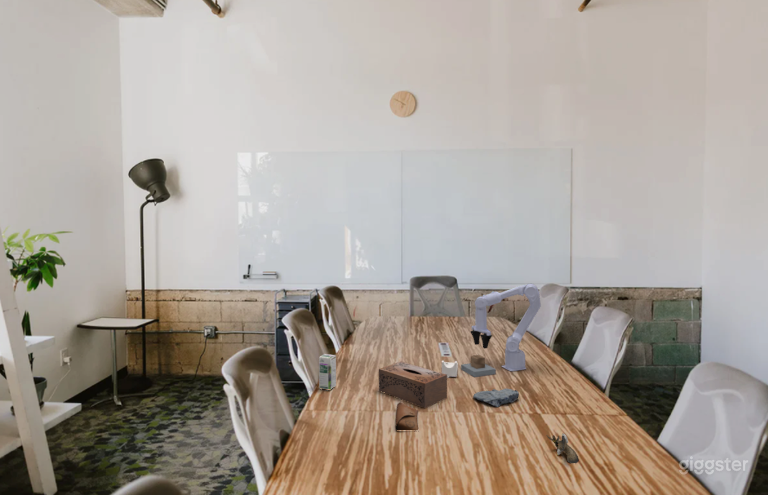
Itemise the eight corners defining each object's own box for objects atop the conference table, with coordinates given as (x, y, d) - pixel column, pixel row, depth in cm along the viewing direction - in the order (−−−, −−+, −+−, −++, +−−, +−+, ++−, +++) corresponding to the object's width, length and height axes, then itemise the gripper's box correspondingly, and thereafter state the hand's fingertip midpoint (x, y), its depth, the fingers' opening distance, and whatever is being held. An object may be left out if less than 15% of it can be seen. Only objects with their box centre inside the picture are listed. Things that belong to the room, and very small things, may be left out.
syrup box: (318, 389, 181) (318, 356, 181) (325, 384, 187) (324, 353, 186) (330, 391, 179) (330, 358, 179) (336, 386, 185) (336, 354, 185)
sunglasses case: (420, 431, 142) (410, 415, 142) (402, 441, 143) (392, 425, 143) (418, 409, 160) (409, 394, 160) (402, 418, 161) (393, 403, 161)
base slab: (481, 366, 211) (481, 361, 211) (495, 374, 200) (495, 368, 200) (461, 369, 207) (461, 364, 207) (474, 377, 196) (474, 372, 196)
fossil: (469, 398, 172) (469, 389, 172) (503, 391, 179) (503, 382, 179) (488, 410, 160) (488, 400, 160) (524, 402, 167) (524, 392, 167)
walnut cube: (479, 364, 207) (479, 354, 207) (485, 367, 202) (485, 357, 202) (470, 365, 205) (470, 355, 205) (476, 368, 200) (476, 358, 200)
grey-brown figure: (541, 446, 130) (559, 456, 121) (549, 425, 132) (568, 433, 123) (560, 458, 131) (579, 468, 122) (568, 437, 132) (588, 445, 124)
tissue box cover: (447, 398, 172) (447, 374, 172) (425, 408, 162) (425, 383, 161) (401, 382, 190) (401, 361, 190) (378, 391, 180) (378, 368, 179)
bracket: (456, 378, 195) (456, 363, 194) (441, 377, 196) (441, 362, 196) (457, 369, 207) (457, 355, 207) (443, 369, 209) (443, 354, 209)
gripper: (466, 318, 218) (466, 343, 219) (482, 323, 205) (482, 350, 205) (478, 317, 221) (478, 342, 221) (494, 322, 207) (494, 349, 208)
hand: (480, 346), depth 213 cm, fingers open, 7 cm apart
